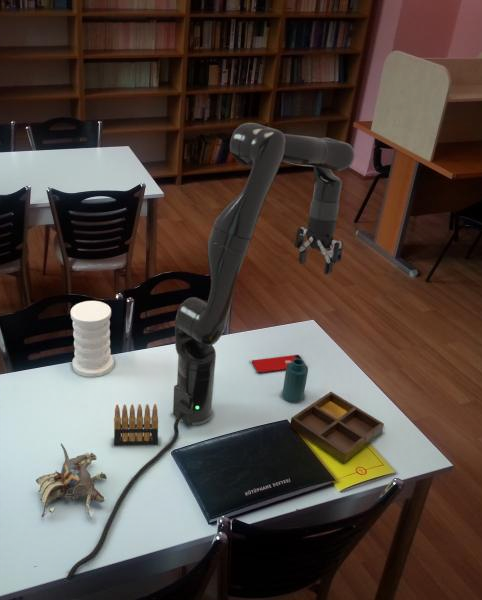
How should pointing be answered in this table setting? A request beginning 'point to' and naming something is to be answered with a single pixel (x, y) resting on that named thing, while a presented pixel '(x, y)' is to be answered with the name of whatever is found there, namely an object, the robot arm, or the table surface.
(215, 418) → the table surface
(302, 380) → the bottle
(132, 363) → the table surface
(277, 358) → the electronic device
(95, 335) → the decorative container
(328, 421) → the compartment tray
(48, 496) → the figurine
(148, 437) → the ammunition clip
